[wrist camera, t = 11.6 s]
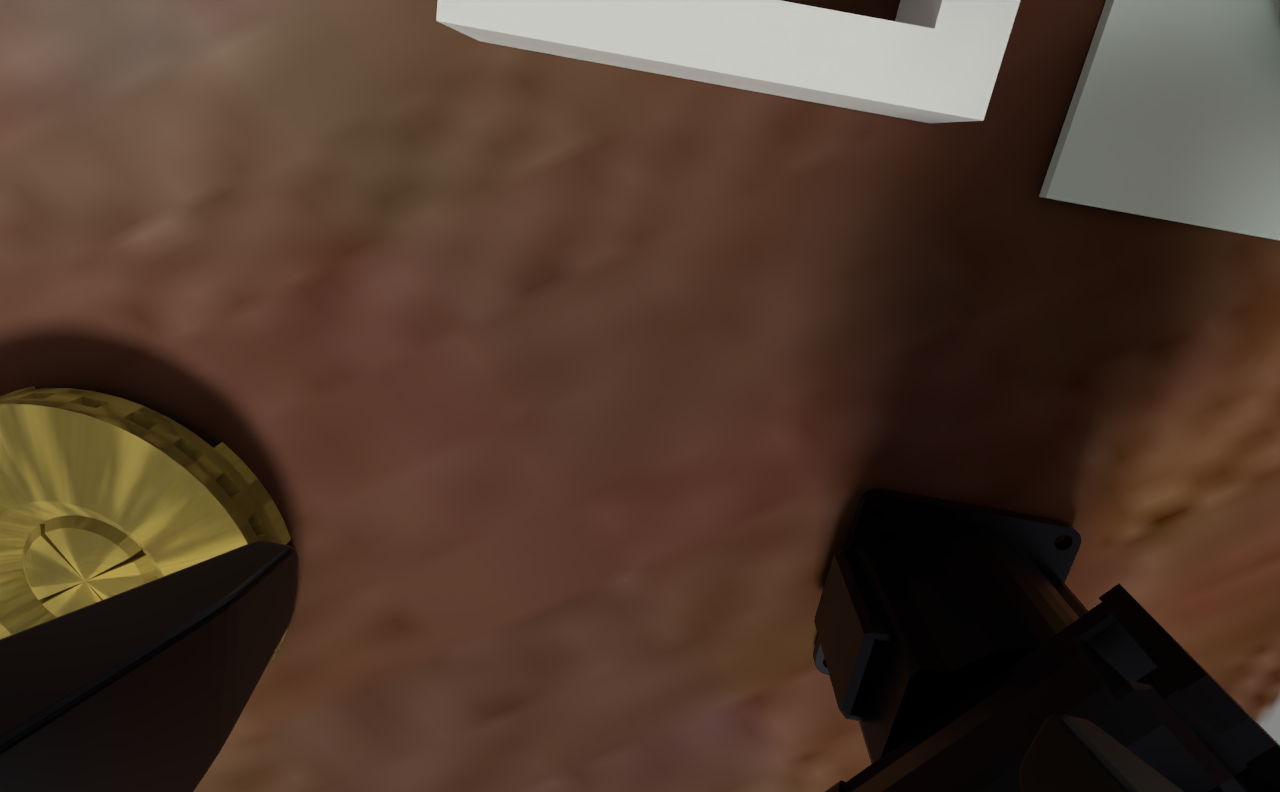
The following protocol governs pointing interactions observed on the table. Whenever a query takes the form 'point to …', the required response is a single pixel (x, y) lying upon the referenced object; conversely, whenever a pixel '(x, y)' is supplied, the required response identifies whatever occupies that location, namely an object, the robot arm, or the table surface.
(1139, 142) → the mat
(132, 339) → the table surface
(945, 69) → the collar
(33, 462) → the gold flat disc
